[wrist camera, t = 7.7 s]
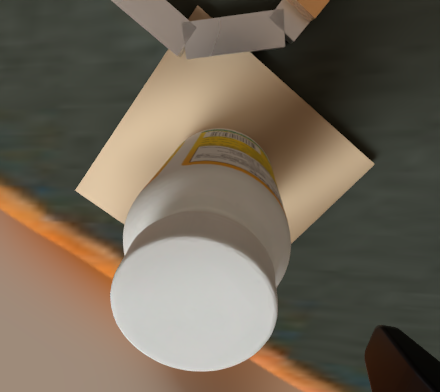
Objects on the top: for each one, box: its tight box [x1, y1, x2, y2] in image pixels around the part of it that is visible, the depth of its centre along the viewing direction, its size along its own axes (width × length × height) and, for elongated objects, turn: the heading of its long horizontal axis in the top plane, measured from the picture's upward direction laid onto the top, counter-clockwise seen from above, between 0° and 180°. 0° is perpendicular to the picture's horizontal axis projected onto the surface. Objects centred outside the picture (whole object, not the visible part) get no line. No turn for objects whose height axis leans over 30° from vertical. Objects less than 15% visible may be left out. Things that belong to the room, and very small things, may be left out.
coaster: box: [75, 5, 374, 243], centre depth 16 cm, size 11×11×1 cm
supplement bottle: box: [110, 128, 291, 371], centre depth 12 cm, size 5×5×10 cm
